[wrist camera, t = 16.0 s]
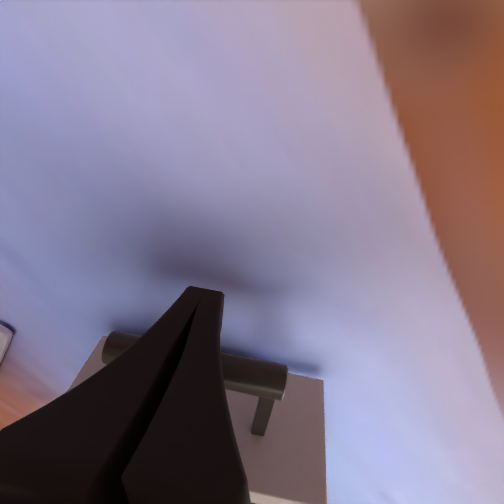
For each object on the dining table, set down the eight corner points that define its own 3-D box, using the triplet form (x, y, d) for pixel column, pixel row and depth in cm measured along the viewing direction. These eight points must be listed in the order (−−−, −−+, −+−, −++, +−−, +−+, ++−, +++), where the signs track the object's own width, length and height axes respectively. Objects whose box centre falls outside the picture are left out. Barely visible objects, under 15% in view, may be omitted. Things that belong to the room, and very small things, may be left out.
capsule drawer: (87, 270, 15) (-8, 380, 11) (349, 321, 15) (366, 460, 10) (126, 431, 25) (84, 525, 20) (285, 465, 24) (278, 570, 20)
